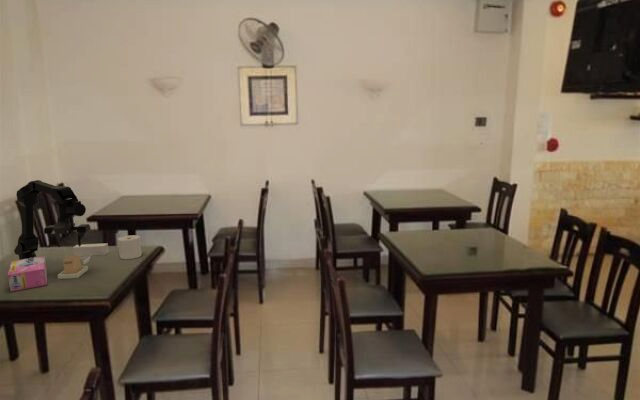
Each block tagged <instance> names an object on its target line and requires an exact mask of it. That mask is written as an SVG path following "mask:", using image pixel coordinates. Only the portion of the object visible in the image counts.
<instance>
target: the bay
mask: <svg viewBox="0 0 640 400" xmlns="http://www.w3.org/2000/svg"><path fill="white" fill-rule="evenodd" d="M72 253H73V254H72V255H80V261H82V266H86V264H87V263H89V262H90V261H91V260H92V257H93V255H98V256H106V255H107V254H108V253H110V251H109V244H108V242H107V243H87V244H83V243H82V244H81V246H80V247H79V245H78V244H76V245H74V246H73V247H72Z"/></svg>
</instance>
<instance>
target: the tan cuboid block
mask: <svg viewBox="0 0 640 400" xmlns="http://www.w3.org/2000/svg"><path fill="white" fill-rule="evenodd" d="M80 257H81V256H80V255H74V254H69V255H68V256H66V257H65V258H63V259H62V263H63V271H65V274H77V273H78V272H79V271H81V270H82V269H81V266H82V262H81V261H82V260H80Z"/></svg>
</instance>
